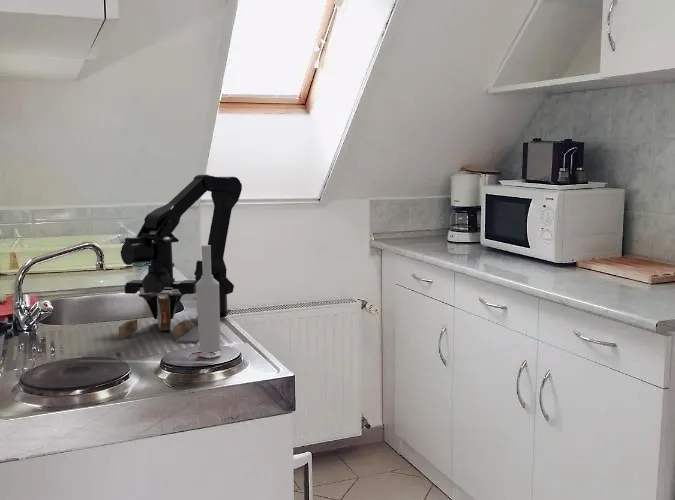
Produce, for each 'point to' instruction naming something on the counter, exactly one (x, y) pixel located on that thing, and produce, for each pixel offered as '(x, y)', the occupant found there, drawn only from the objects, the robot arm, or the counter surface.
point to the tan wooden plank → (133, 326)
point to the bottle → (208, 306)
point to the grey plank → (190, 336)
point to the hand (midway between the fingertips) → (163, 319)
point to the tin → (163, 313)
